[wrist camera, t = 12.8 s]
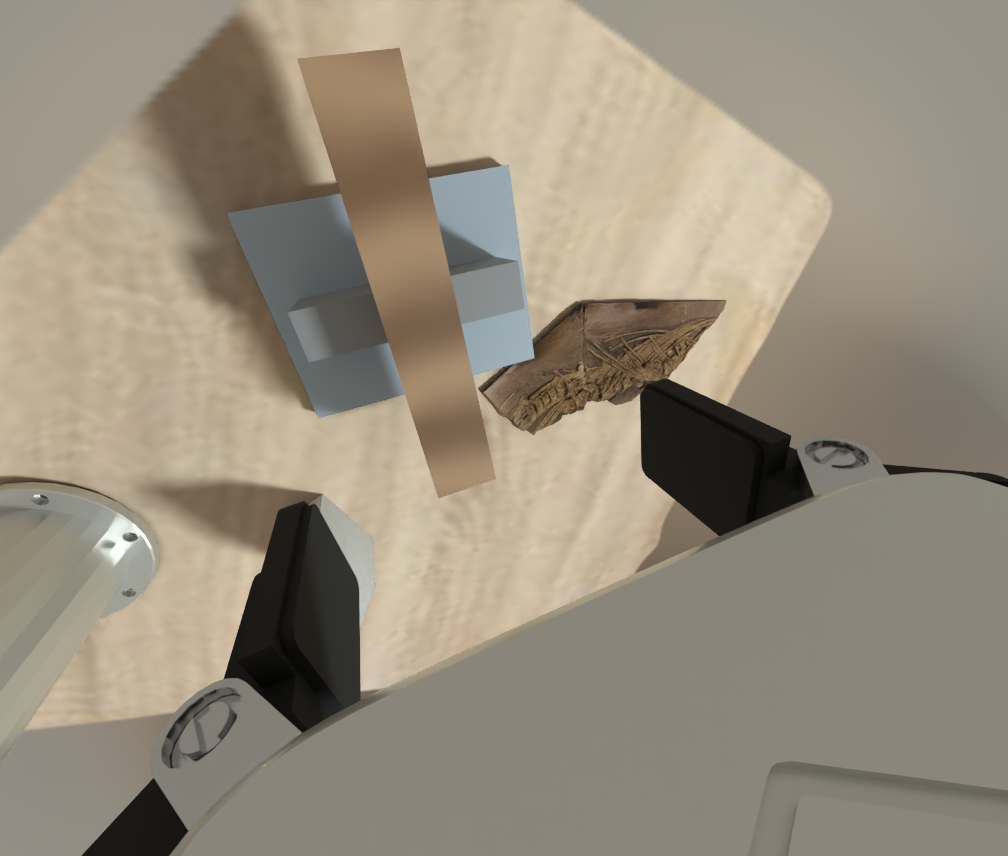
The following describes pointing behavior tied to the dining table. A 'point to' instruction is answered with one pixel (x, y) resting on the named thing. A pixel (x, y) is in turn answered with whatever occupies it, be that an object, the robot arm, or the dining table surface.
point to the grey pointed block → (352, 548)
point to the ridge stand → (348, 296)
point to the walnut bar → (402, 252)
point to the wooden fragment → (600, 358)
